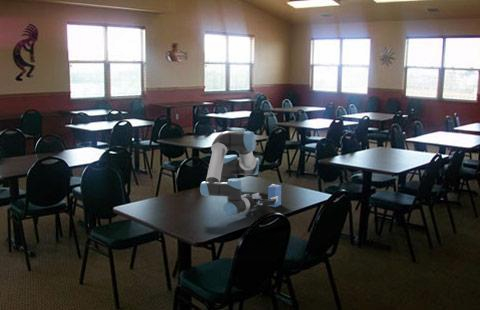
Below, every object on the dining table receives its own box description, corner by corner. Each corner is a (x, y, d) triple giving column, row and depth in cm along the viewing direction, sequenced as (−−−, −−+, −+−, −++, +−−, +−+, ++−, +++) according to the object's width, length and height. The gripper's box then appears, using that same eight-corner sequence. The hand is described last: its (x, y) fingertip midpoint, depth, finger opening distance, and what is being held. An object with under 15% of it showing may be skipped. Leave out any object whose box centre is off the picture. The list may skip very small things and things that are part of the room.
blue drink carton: (273, 203, 303) (274, 182, 300) (280, 204, 300) (281, 183, 298) (267, 205, 297) (268, 184, 295) (275, 207, 294) (275, 185, 292)
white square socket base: (244, 197, 315) (244, 192, 314) (266, 201, 306) (266, 196, 306) (230, 203, 302) (230, 197, 301) (252, 207, 293) (252, 201, 292)
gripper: (228, 206, 283) (251, 199, 300) (263, 214, 268) (285, 206, 284) (228, 193, 282) (251, 187, 298) (263, 201, 267) (285, 194, 283)
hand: (268, 196), depth 291 cm, fingers open, 13 cm apart
